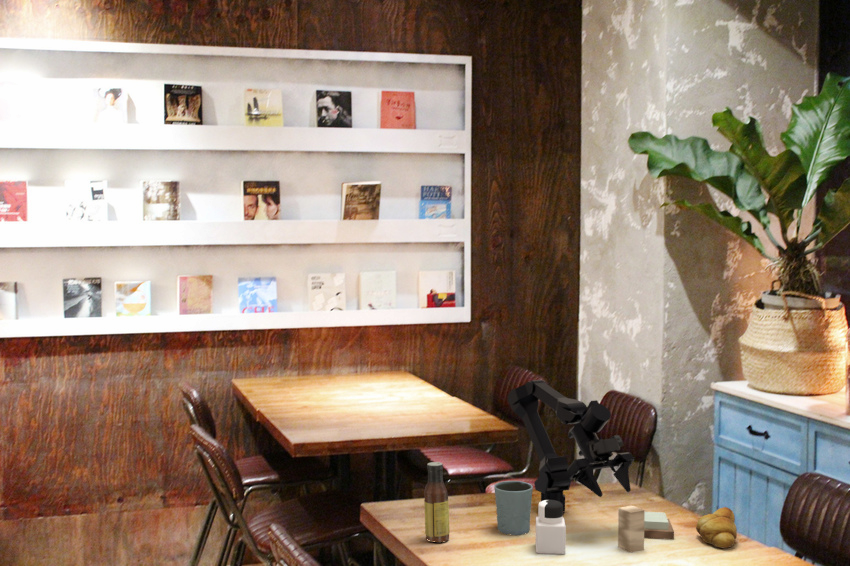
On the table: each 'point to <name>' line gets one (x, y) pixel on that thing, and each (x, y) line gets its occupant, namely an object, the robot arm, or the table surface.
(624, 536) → the oak block
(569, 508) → the table surface
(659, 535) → the walnut base slab
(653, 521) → the sage slab
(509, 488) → the teal cup
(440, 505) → the sauce bottle
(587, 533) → the table surface
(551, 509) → the medicine bottle
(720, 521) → the bread roll
